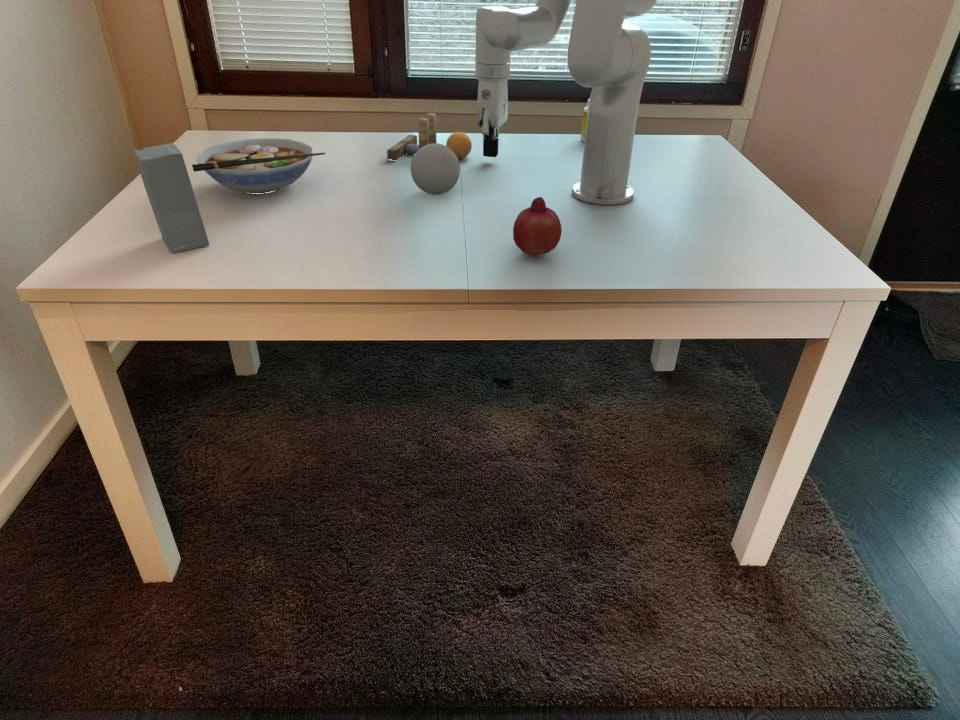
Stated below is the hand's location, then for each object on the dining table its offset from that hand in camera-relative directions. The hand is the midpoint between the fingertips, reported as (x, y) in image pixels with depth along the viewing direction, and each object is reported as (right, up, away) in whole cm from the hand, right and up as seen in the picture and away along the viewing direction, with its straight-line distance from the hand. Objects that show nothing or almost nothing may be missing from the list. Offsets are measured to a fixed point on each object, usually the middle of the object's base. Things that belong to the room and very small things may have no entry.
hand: (490, 155), depth 150 cm
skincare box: (-54, -28, -39) cm, 72 cm away
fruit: (+7, -30, -41) cm, 52 cm away
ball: (-12, -13, -17) cm, 25 cm away
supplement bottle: (+26, +9, +17) cm, 33 cm away
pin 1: (-16, 0, +2) cm, 16 cm away
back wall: (-21, +3, +6) cm, 22 cm away
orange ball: (-7, +3, +1) cm, 8 cm away
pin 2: (-14, +3, +6) cm, 16 cm away
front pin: (-11, +2, +3) cm, 12 cm away
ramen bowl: (-48, -12, -16) cm, 52 cm away
